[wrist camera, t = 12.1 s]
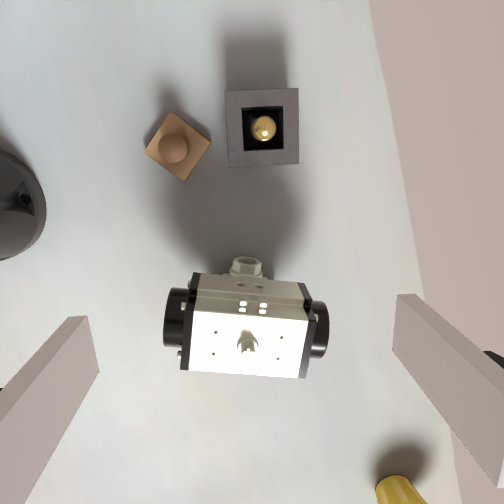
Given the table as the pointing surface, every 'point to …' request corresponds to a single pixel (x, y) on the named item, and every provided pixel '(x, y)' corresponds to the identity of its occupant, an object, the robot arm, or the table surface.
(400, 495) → the plant pot
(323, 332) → the ball valve
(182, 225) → the table surface
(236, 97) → the grey square box
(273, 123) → the door knob
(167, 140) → the brown knob on base
